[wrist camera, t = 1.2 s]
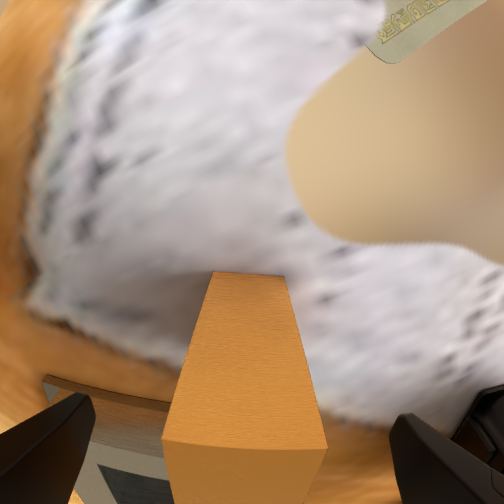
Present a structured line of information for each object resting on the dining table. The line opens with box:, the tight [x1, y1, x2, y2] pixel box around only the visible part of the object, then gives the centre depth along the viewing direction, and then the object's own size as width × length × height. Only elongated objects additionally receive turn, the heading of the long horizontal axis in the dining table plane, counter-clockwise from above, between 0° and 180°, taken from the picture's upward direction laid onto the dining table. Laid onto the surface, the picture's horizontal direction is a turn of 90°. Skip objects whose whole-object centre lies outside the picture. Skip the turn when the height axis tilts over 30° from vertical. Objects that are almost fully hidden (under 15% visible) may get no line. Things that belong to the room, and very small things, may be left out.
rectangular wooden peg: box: [161, 271, 328, 504], centre depth 10 cm, size 3×4×9 cm
